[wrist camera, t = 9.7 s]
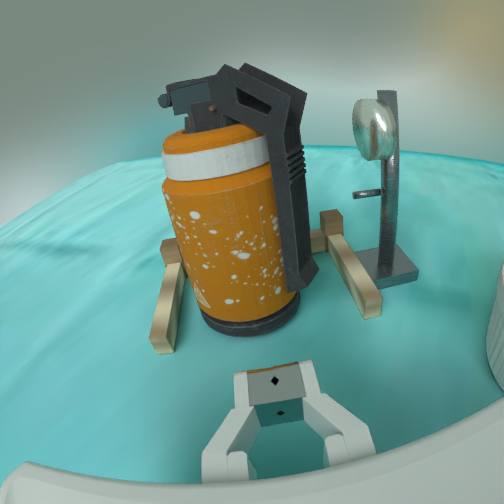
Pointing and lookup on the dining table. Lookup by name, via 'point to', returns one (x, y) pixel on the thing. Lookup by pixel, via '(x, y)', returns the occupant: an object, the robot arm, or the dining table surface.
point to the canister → (240, 197)
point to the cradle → (321, 241)
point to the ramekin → (497, 333)
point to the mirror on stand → (382, 187)
